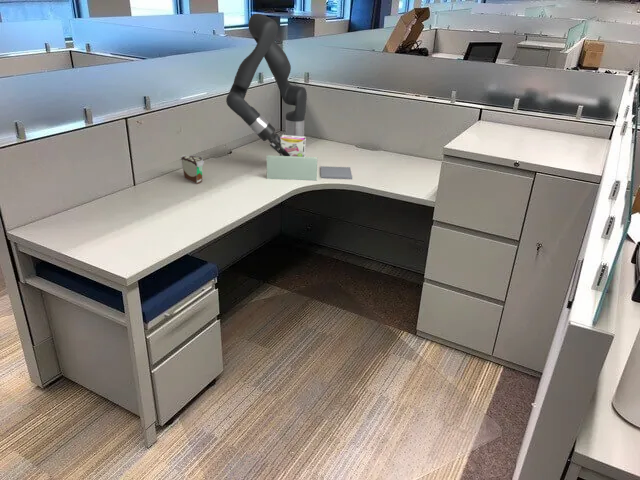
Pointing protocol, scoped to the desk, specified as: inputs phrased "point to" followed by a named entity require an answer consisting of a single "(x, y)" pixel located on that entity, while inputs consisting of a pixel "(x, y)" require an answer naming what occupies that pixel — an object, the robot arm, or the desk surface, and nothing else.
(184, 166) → the food container
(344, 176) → the mat
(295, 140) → the candy bar box
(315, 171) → the screen
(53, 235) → the desk surface
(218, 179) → the desk surface
